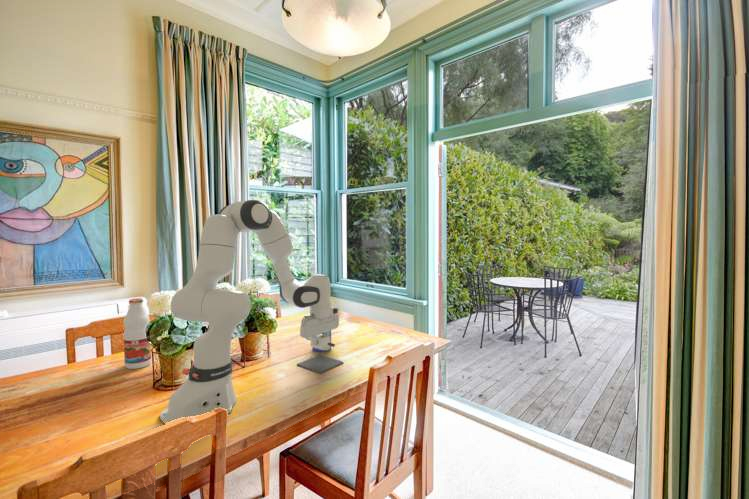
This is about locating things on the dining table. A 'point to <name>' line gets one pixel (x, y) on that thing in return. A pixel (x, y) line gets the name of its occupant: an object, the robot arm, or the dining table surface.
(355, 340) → the dining table surface
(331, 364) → the mat
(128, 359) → the fruit juice
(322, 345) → the plug
